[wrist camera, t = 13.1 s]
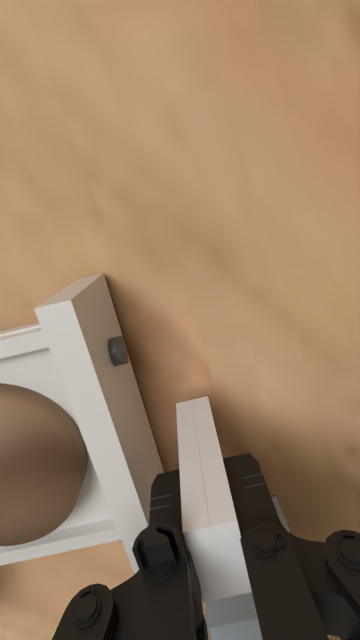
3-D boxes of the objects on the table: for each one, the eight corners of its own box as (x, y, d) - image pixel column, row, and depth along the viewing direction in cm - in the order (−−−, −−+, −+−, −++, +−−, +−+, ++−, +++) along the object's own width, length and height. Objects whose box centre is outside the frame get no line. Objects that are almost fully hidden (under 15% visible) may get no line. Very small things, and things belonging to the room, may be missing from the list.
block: (212, 571, 22) (228, 696, 16) (196, 513, 20) (207, 628, 15) (287, 555, 22) (330, 676, 16) (276, 495, 20) (319, 605, 14)
